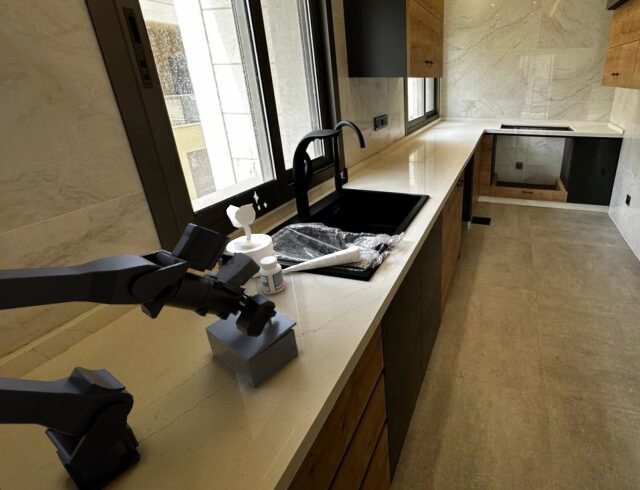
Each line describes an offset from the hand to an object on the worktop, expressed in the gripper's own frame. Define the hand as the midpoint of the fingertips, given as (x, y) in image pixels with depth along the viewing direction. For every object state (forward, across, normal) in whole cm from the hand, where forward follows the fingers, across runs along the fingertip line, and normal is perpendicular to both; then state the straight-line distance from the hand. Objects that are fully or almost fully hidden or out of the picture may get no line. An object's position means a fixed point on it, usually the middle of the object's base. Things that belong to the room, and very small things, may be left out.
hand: (267, 309), depth 68 cm
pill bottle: (+14, +17, -2) cm, 22 cm away
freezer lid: (-1, 0, +4) cm, 4 cm away
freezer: (+3, 0, +9) cm, 9 cm away
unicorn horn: (+25, +14, -13) cm, 31 cm away
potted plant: (+16, +29, -4) cm, 33 cm away
